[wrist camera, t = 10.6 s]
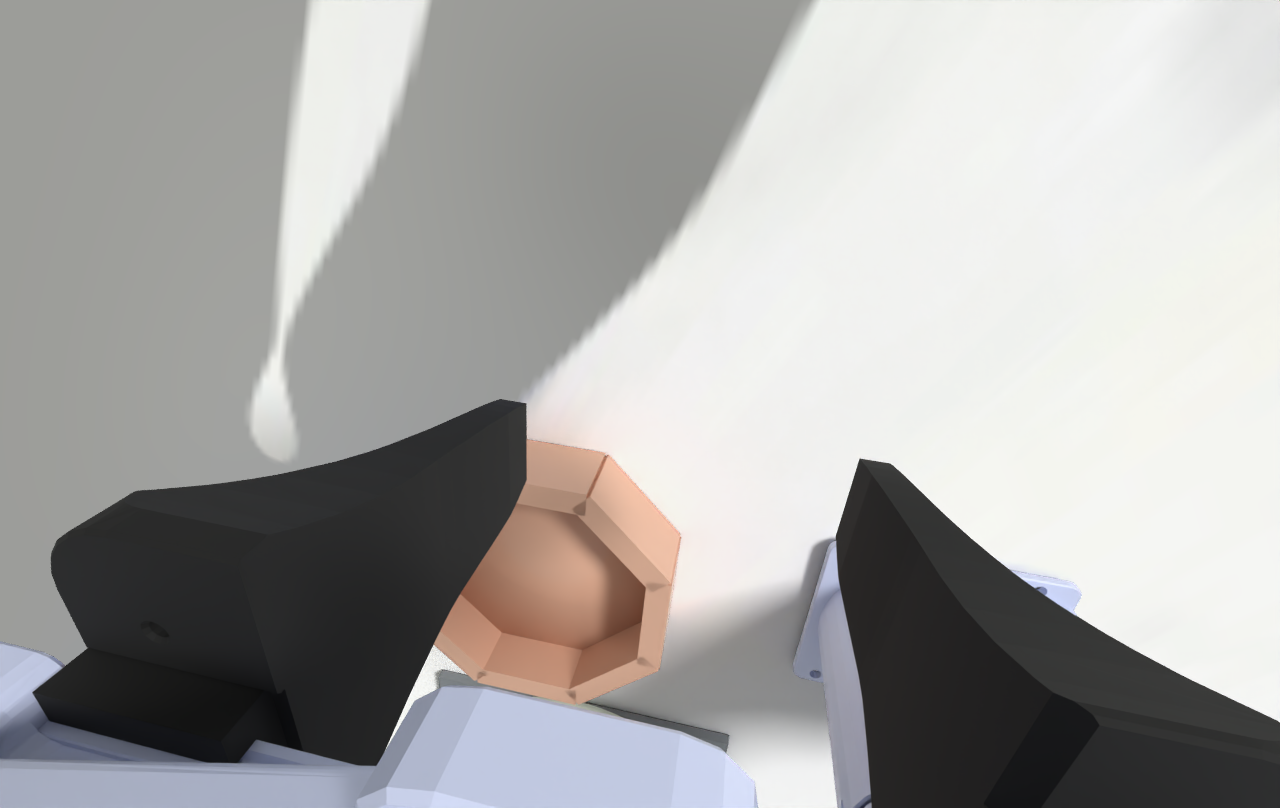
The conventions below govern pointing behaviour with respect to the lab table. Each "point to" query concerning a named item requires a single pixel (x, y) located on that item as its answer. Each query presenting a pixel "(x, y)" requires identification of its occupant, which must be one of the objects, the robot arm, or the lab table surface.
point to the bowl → (568, 584)
